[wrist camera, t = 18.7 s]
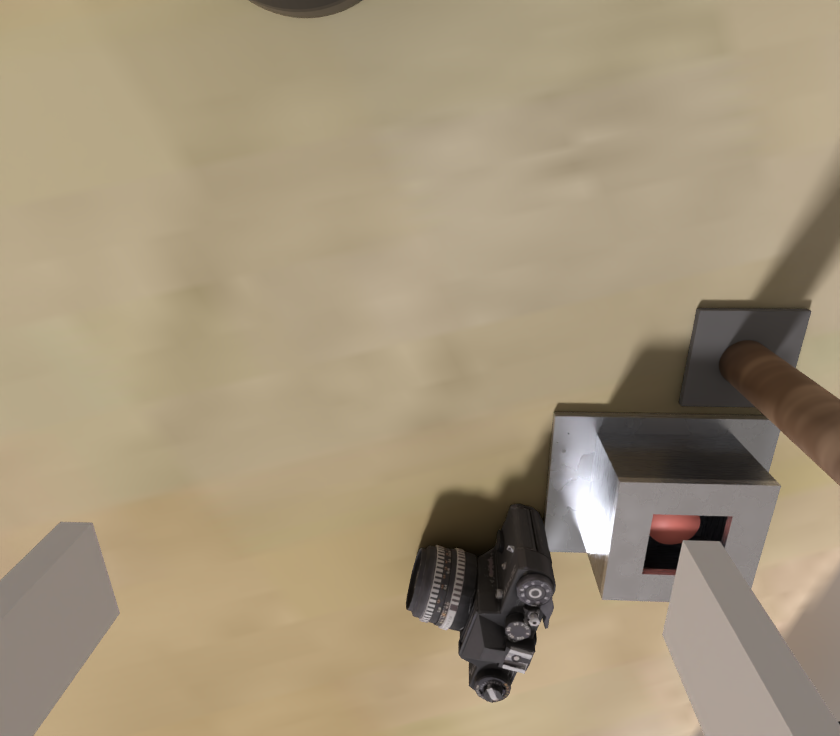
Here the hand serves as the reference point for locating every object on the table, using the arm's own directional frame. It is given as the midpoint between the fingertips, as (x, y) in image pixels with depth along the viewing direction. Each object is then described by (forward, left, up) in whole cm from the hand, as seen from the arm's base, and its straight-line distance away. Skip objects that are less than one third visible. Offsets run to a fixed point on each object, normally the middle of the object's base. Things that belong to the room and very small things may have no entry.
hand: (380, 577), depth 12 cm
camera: (+28, +4, -32) cm, 42 cm away
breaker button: (+19, +19, -30) cm, 41 cm away
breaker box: (+19, +19, -32) cm, 42 cm away
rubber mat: (+7, +24, -32) cm, 40 cm away
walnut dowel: (+7, +24, -31) cm, 40 cm away
